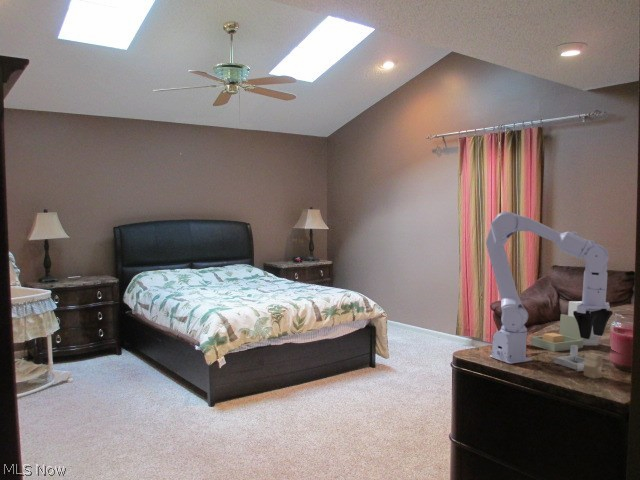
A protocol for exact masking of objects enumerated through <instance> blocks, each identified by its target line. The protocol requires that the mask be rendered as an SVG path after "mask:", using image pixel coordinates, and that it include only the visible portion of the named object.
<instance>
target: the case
mask: <svg viewBox="0 0 640 480" xmlns="http://www.w3.org/2000/svg"><path fill="white" fill-rule="evenodd" d="M559 319H560V320H559V333H558V334H560V335H564V339H563V342H558V343H552V342H549V341H545V340H543V335H539V336H531V337H530V345H531V346H533V347H538V348H540V349H544V350H548V351H551V352H554V353H555V352H563V351H570V349H571V345H576V346H578V349H583V348H584V345H583V340H585V338H581V337H580V332H579V327H578V323H577V321H576V318H575V317H573V316H568V314H562V313H561V314H560V318H559ZM568 336H569V337H568Z"/></svg>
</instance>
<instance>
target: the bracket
mask: <svg viewBox="0 0 640 480" xmlns="http://www.w3.org/2000/svg"><path fill="white" fill-rule="evenodd" d="M569 351H570V352H569V355H563V356H557V357H555V356H554V360H553V361H554V363H555V364H558V365H560V366H563V367H566V368H570V369H572V370H573V371H574V372H584V359H585V357H582V356H578V353H579V352H578V351H579V348H578V346H576V345H571V349H570V350H569Z"/></svg>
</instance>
